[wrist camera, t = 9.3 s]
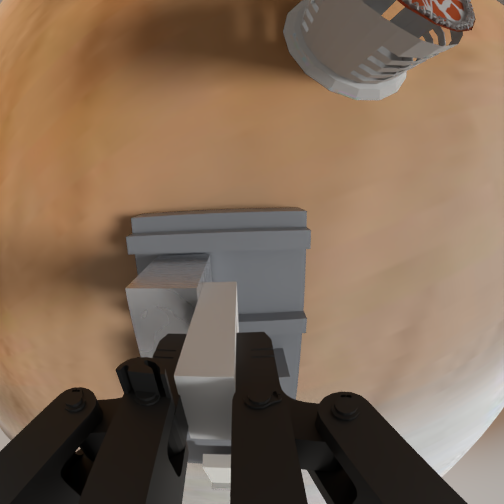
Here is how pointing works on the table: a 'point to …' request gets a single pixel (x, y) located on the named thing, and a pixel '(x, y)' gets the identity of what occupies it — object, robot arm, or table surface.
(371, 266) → the table surface
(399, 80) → the french press
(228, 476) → the rocker switch
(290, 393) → the panel
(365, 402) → the robot arm
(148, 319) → the slide switch
